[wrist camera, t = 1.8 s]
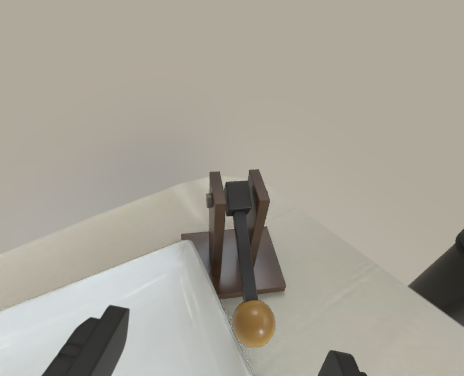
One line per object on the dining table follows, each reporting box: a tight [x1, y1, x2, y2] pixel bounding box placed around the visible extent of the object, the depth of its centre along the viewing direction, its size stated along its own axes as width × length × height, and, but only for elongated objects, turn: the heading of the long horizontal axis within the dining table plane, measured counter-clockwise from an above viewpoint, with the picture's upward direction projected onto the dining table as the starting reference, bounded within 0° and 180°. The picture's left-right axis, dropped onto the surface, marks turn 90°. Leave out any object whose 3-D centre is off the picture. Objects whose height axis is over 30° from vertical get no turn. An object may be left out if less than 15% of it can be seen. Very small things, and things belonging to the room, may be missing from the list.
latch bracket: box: [181, 169, 286, 299], centre depth 29 cm, size 9×12×14 cm
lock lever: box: [224, 181, 275, 348], centre depth 24 cm, size 14×4×4 cm, turn 9°
